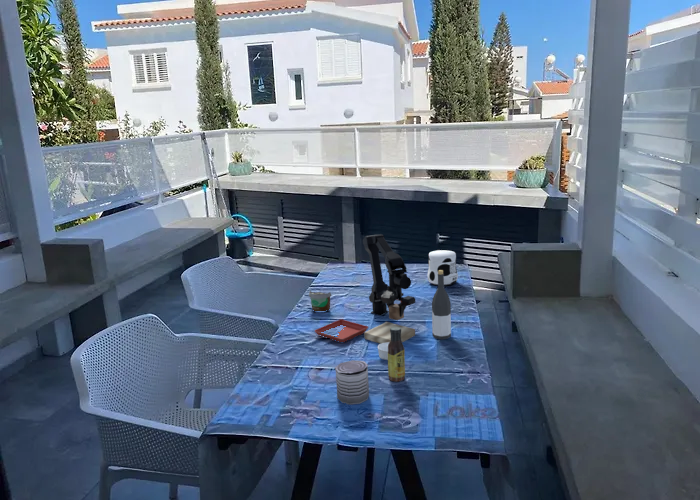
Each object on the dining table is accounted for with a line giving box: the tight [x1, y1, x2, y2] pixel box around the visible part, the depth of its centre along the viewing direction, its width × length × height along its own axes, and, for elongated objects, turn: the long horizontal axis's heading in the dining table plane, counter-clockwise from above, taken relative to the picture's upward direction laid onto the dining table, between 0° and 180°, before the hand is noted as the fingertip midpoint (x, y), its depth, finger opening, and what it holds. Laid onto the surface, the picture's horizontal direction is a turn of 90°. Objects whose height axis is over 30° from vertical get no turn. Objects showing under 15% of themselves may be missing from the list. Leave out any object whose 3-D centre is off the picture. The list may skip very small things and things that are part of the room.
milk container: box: [427, 249, 459, 287], centre depth 316 cm, size 17×17×18 cm
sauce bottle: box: [387, 327, 406, 383], centre depth 202 cm, size 7×6×20 cm
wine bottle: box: [431, 270, 452, 340], centre depth 239 cm, size 8×8×30 cm
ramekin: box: [377, 342, 389, 361], centre depth 224 cm, size 9×9×4 cm
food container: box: [308, 290, 332, 311], centre depth 281 cm, size 12×6×10 cm, turn 68°
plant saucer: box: [314, 318, 369, 343], centre depth 250 cm, size 18×18×3 cm
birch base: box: [363, 321, 416, 344], centre depth 244 cm, size 16×16×3 cm
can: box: [334, 359, 370, 405], centre depth 192 cm, size 11×11×12 cm
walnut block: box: [388, 303, 405, 321], centre depth 257 cm, size 5×5×6 cm
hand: (396, 315), depth 258 cm, fingers closed on walnut block, 5 cm apart
